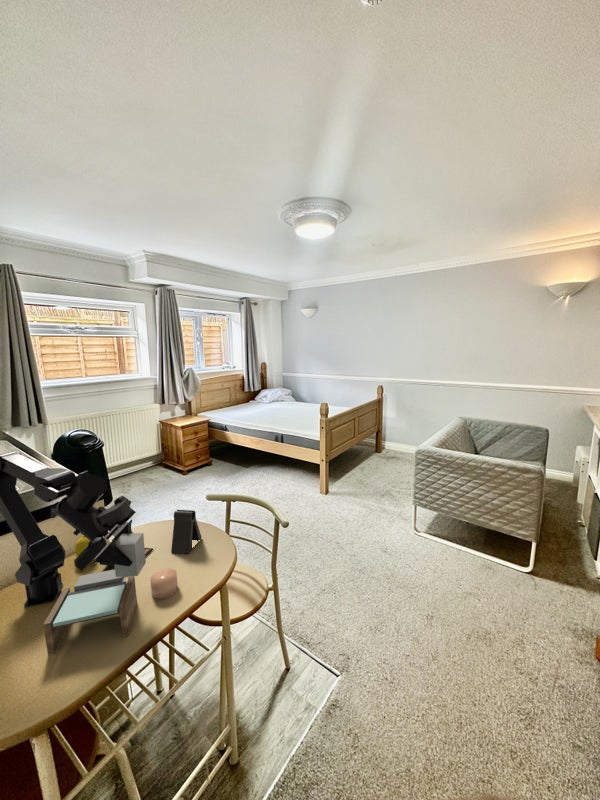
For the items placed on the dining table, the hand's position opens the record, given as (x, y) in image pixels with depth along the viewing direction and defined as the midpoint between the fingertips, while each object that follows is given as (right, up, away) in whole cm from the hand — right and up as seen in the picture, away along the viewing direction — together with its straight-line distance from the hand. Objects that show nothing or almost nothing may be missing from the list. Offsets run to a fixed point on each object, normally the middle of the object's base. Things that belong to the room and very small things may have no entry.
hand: (135, 557), depth 81 cm
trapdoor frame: (-7, -14, -4) cm, 16 cm away
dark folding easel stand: (+3, -10, +28) cm, 30 cm away
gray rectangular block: (-1, -3, 0) cm, 3 cm away
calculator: (-13, -11, +21) cm, 27 cm away
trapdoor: (-8, -8, -3) cm, 12 cm away
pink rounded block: (+4, -12, +8) cm, 15 cm away
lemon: (-25, -11, +22) cm, 35 cm away
